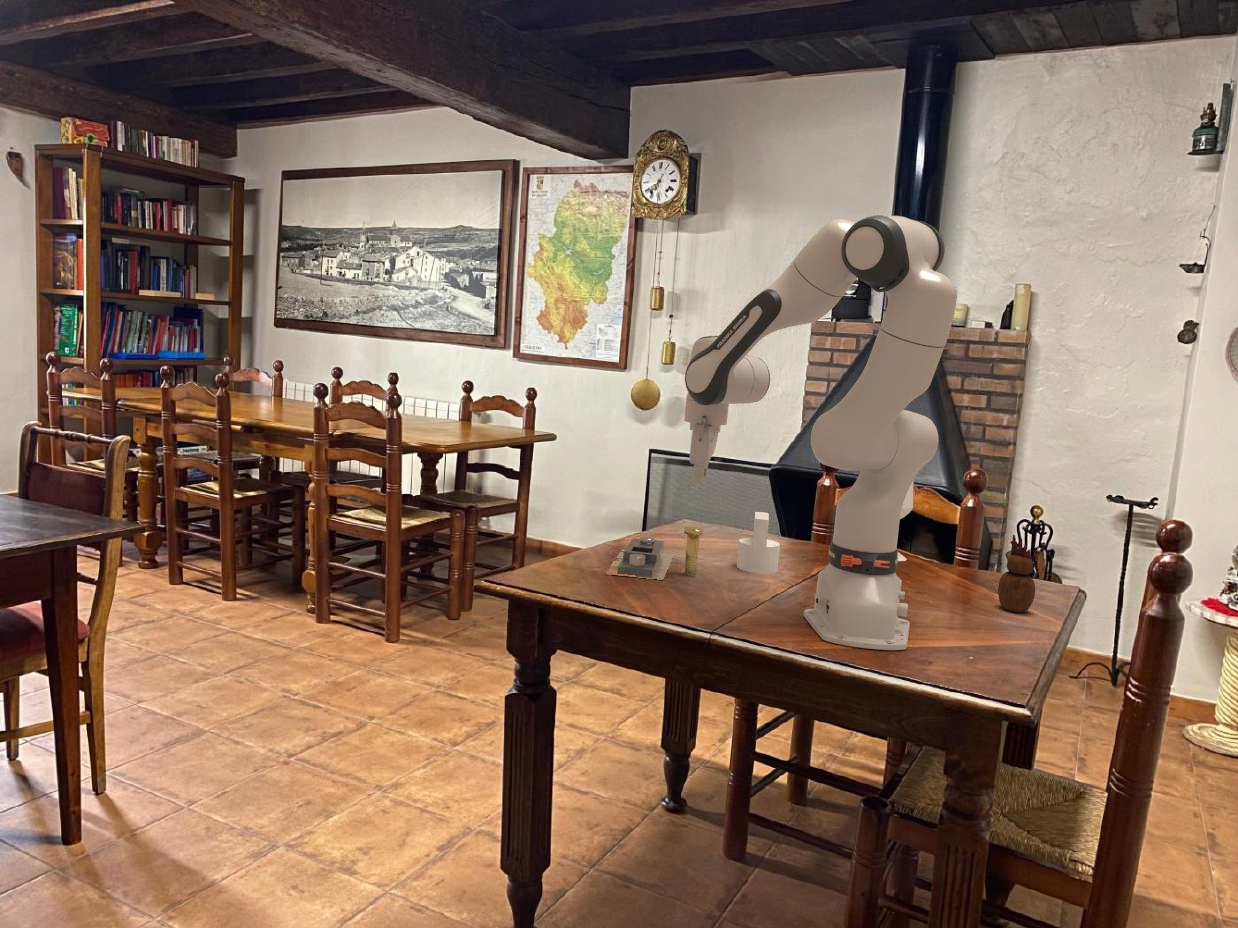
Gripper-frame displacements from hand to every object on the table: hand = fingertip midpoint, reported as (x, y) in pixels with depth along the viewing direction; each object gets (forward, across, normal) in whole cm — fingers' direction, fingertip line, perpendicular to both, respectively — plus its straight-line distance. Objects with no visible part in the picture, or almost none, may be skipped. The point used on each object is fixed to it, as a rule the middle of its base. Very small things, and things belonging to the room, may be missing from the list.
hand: (700, 480), depth 188 cm
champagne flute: (+20, +38, -46) cm, 63 cm away
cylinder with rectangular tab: (+20, +12, -14) cm, 27 cm away
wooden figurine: (+20, 0, -65) cm, 68 cm away
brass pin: (+20, -1, 0) cm, 20 cm away
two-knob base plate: (+20, +3, +11) cm, 24 cm away
